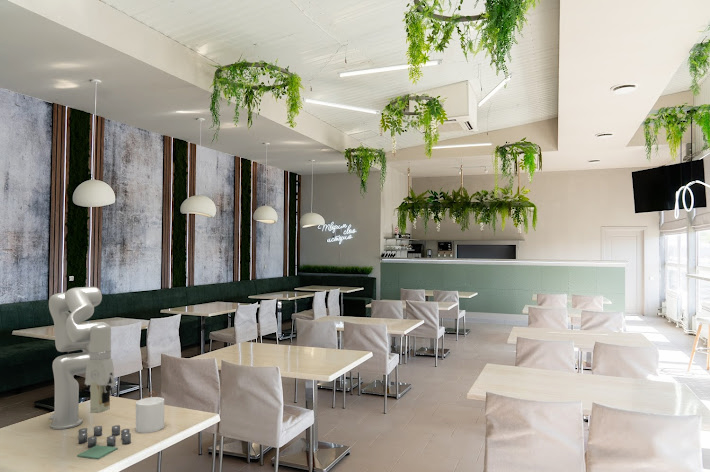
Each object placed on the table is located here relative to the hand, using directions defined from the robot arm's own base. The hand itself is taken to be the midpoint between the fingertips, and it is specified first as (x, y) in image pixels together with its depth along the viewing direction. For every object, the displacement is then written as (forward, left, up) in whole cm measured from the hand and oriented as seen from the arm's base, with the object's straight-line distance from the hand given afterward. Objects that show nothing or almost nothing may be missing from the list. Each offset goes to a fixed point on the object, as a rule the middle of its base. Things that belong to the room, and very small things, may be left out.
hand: (100, 401), depth 195 cm
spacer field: (-6, +8, -19) cm, 22 cm away
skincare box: (0, 0, -4) cm, 4 cm away
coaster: (+1, -3, -19) cm, 19 cm away
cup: (+3, +25, -19) cm, 32 cm away
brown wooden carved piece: (-6, +38, -19) cm, 43 cm away
